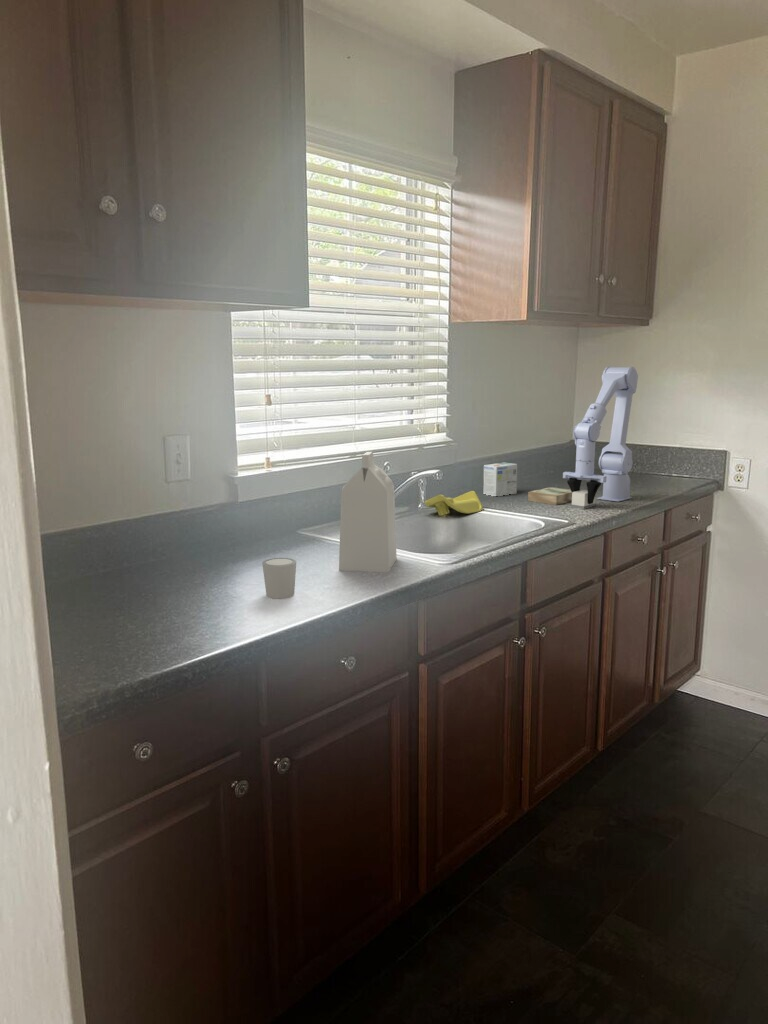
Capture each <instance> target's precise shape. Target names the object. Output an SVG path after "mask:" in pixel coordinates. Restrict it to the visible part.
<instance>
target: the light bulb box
mask: <svg viewBox="0 0 768 1024" xmlns="http://www.w3.org/2000/svg"><path fill="white" fill-rule="evenodd" d="M517 485H518V464H517V463H511V462H505V461H504V462H498V463H491V464H489V463H488V464H484V465H483V488H482V490H483V494H486V495H485V496H488V495H491V496H490V497H493V496H498V497H504V496H503V495H505V496H509V494H511V495H516V494H517V491H518V490H517V489H518V487H517Z"/></svg>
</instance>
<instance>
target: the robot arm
mask: <svg viewBox="0 0 768 1024" xmlns="http://www.w3.org/2000/svg"><path fill="white" fill-rule="evenodd" d="M638 379H639V375H638V372H637V370H636V368H635V367H634V366H626V367H625V366H622V367H621V366H620V367H619V366H617V367H616V366H615V367H614V366H606V367H605V368H604V370H602V375H601V383H602V385H601V387H600V389H599V392H598V395H597V397H596V399H595V402H594V403H593V402H592V403H591V404H590V405H589V407H588V408H587V410H586V411H585V414H584V416H583V418H582V420H581V421H580V422H579V423H577V424H575V426H574V429H573V432H572V436H573V438H574V446H576V450H575V453H576V454H575V470H574V471H564V472H562V479H568V480H566V481H567V482H566V483H567V485H568V486H569V489H571V492H575V491H579V490H581V485H582V481H587V482H586V483H585V484H586V488H587V489H586V490H588V504H592V503H593V500H594V497H595V498H596V495H597V492H598V491H599V490H598V489H599V488H600V486H601V485H602V496H599V497H597V500H602V501H611V502H622V501H626V500H629V499H632V496H630V494H631V493H630V492H631V491H630V490H631V477H630V475H629V472H630V471H631V470H632V468H633V451H632V450H631V449H630V448H629V447H628V446H627V444H626V442H627V437H628V429H629V422H630V415H631V407H632V403H633V401H632V400H633V395H634V394H635V393H636V391H637V387H638V386H637V385H638ZM614 395H615V402H614V408H613V409H614V410H613V418H612V422H611V423H612V425H611V431H610V437H609V438H610V439H609V443H608V444H607V445H605V446H604V447H602V448H601V453H600V455H599V458H598V467H599V469H600V470H601V473H602V474H603V475H601V474H595V455H596V441H598V439H599V437H600V434H601V427H602V426H601V424H602V422H603V420H604V419H605V416H606V415H607V408H606V407H607V406H608V404H609V403H610V400H611V399H612V397H613V396H614ZM602 483H603V484H602Z"/></svg>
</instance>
